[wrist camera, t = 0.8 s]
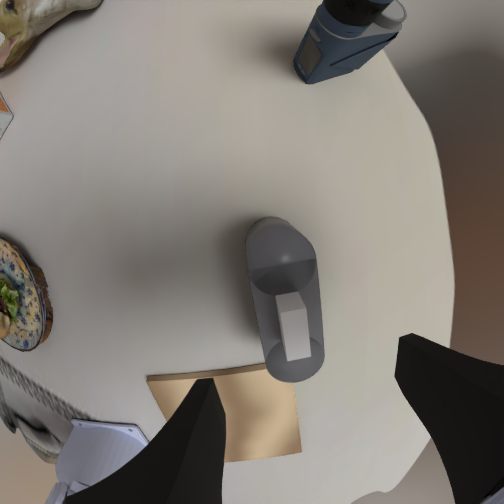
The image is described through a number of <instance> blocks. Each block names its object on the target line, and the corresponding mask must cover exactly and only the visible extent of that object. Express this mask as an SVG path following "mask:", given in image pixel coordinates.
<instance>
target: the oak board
mask: <svg viewBox="0 0 504 504" xmlns="http://www.w3.org/2000/svg"><path fill="white" fill-rule="evenodd" d="M212 377H213V379H214V382H215V385H216V388H217V391H218V394H219V396H220V399H221V402H222V405H223V408H224V411H225V413H226V447H225V457H224V462H235V461H246V460H256V459H264V458H271V457H277V456H284V455H289V454H295V453H300V452H302V448H301V440H300V431H299V423H298V415H297V407H296V399H295V391H294V384H293V383H287V382H282V381H279V380H277V379H275V378H274V377H272V376H271V375H270V374H269V372H268V370H267V368H266V363H264V364H258V365H252V366H245V367H238V368H231V369H223V370H215V371H207V372H197V373H186V374H174V375H158V376H148V379H147V381H146V382H147V384H148V386H149V388H150V390H151V392H152V394H153V396H154V398H155V400H156V402H157V404H158V406H159V408H160V410H161V412H162V413H163V415H164V417H165V419H166V421H168V420H169V419H170V418H171V416H172V415H173V413H174V412H175V411H176V409H177V408H178V406H179V405H180V404H181V402H182V401H183V399H184V398H185V396H186V395H187V393H188V392H189V390H190V389H191V387H192V385H193V384H194V382H195V381H196V380H197V379H203V378H212Z"/></svg>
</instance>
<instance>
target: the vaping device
mask: <svg viewBox="0 0 504 504" xmlns="http://www.w3.org/2000/svg"><path fill="white" fill-rule="evenodd" d="M406 17H407V14H406V10H405V8H404V7H403V5H402V4H401V3H400V2H399V1H398V0H323V2H322V4H321V5H319V6H318V8H317V9H316V13H315V15H314V17H313V19H312V21H311V23H310V25H309V27H308V30H307V32H306V34H305V36H304V38H303V40H302V42H301V45H300V47H299V49H298V51H297V53H296V55H295V58H294V60H293V61H294V66H295V70H296V72H297V73H298V75H299V76H300V77H301V78H302V79H303V80H304V81H305V82H306V84H314V83H317V82H320V81H324V80H327V79H330V78H333V77H337V76H340V75H344V74H347V73H350V72H352V71H353V70H354V69H359V68H360V67H361V66H363V65H364V64H365V63H366V62H367V61H368V60H370V59H371V58H372V57H373V56H374V55H375V54H377V53H378V52H379V51H380V50H381V49H383V48H384V47H385V46H386V45H387V44H389V43H390V42H391V41H392V40H393V39H394V38H396V36H397V34H398V33H399V31H400V30H401V28H402V22H403V21H404V20H405V19H406Z"/></svg>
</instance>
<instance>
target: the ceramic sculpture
mask: <svg viewBox="0 0 504 504" xmlns="http://www.w3.org/2000/svg"><path fill="white" fill-rule="evenodd" d="M101 1H102V0H0V32H2V33H3V34H4V35H5V40H4V42H3V44H2V45H1V47H0V73H1V72H3V71H5V70H6V69H8V68H9V67H11V66H13V65H14V64H15V63H16V62H17V61H18V60H19V59H20V58H21V57H22V56H23V55H24V53H25V52H26V51H27V49H28V48H29V47H30V46H31V44H32V43H33V42H34V41H35V39H36V38H37V36H38V35H40V34H41V33H43V32H44V31H45V30H47V29H48V28H49V27H51V26H52V25H53V24H55V23H56V22H57V21H59V20H60V19H62V18H63V17H65V16H67V15H68V14H70V13H71V12H73V11H75V10H88V9H93V8H95V7H97V6H98V5H99V4H100V2H101Z"/></svg>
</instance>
